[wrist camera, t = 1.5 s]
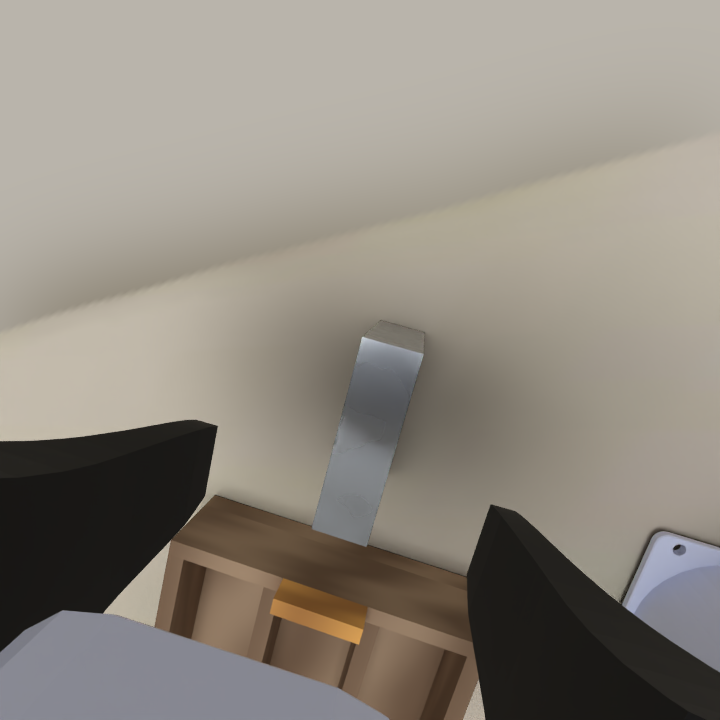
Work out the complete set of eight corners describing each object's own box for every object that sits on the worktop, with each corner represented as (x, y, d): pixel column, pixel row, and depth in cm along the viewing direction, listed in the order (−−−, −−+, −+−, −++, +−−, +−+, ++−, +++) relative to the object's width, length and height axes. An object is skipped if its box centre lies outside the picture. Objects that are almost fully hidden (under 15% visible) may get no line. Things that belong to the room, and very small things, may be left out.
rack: (478, 581, 21) (494, 674, 16) (412, 761, 24) (409, 892, 19) (214, 495, 23) (154, 557, 18) (177, 674, 25) (114, 775, 20)
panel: (424, 332, 20) (423, 354, 14) (382, 473, 21) (366, 547, 15) (380, 320, 20) (362, 336, 14) (342, 460, 21) (311, 529, 16)
